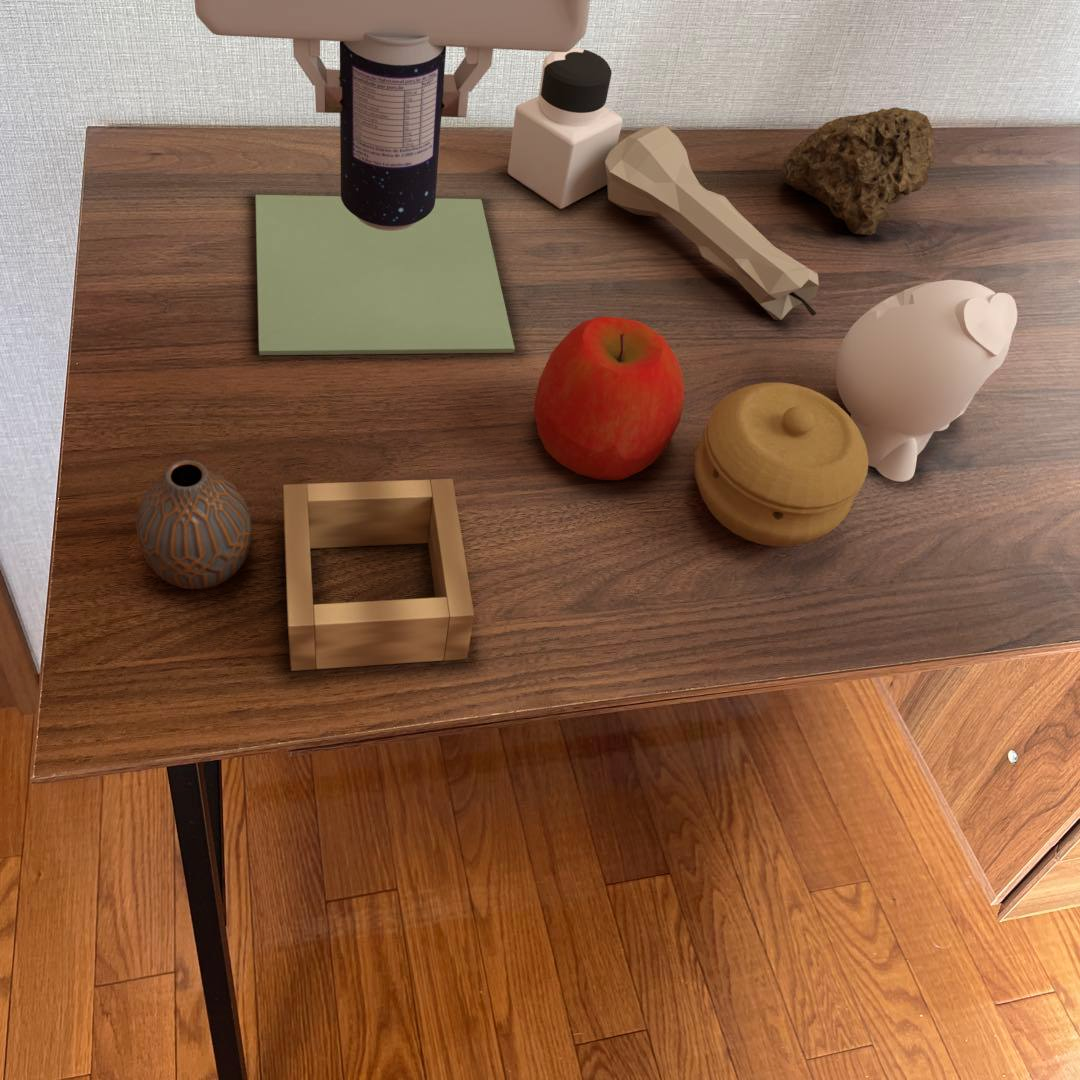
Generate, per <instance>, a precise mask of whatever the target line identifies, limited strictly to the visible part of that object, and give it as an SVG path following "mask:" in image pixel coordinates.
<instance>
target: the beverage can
mask: <svg viewBox="0 0 1080 1080" xmlns="http://www.w3.org/2000/svg"><path fill="white" fill-rule="evenodd" d="M428 40H429V37H428V36H425V37H423V38H419V39H417V38H397V37H376V36H373V35H370V34H367V33H365V34H364V40H363V41H360V42H346V41H339V70H340V81H341V84H342V91H343V98H342V100H341V101H342V105H343V113H339V126H340V127H339V132H340V133H339V135H340V136H339V137H340V138H339V140H340V141H339V143H340V145H339V146H340V147H339V148H340V151H339V152H340V157H339V158H340V196H341V199H342V202H343V204H344V206H345V207H346V208H347V209H348V210H349V211H350V212H351V213H352V214H353V215H355V216H356V217H357V218H358V219H359V220H360V221H361V222H363V223H364V224H366V225H368V226H370V227H373V228H376V229H380V230H387V231H395V230H402V229H406V228H409V227H411V226H413V225H415V224H416V223H417V222H418V221H420V220H422V219H423V218H425V217H426V216H427V215H429V214H430V212H431V211H432V210H433V208H434V206H435V198H437V183H438V169H439V168H438V167H439V156H440V155H439V154H440V152H439V151H440V140H441V139H440V137H441V128H442V127H441V126H442V124H441V123H442V117H441V108H442V93H443V84H444V74H445V69H446V68H445V67H446V54H447V46H433V45H430V44H429V43H428Z"/></svg>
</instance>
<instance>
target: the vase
mask: <svg viewBox="0 0 1080 1080" xmlns="http://www.w3.org/2000/svg"><path fill="white" fill-rule="evenodd" d="M250 513H251V512H250V510H249V507H248V504H247V503H246V501H245V499H244V497H243V495H242V494H241V492H240V491H239V489H237V487H236V486H235V485H234V484H233V483H232V481H230V480H229V479H228V478H226V477H225V476H223V475H221V474H220V473H218V472H216V471H213V470H211V469H208V468H207V467H206V466H205V465H203V464H202V463H201V462H198V461H196V460H193V459H183V460H178V461H176V462H174V463H172V464H171V465H169V467H168V468H167V469H166V471H165V473H164V474H163V475H162V476H161V477H159V478H157V479H156V480H155V481H154V482H153V483H152V484H151V485H150V486H149V487H148V489H147V490H146V492H145V493H144V495H143V496H142V499H141V501H140V504H139V507H138V510H137V516H136V521H135V522H136V524H135V525H136V527H135V529H136V530H135V531H136V539H137V542H138V545H139V548H140V551H141V553H142V556H143V558H144V560H145V561H146V562H147V564H148V566H149V567H150V568H151V570H152V571H153V572H154V573H155V574H156V575H157V576H158V577H160V578H161V579H163V580H164V581H165V582H167V583H169V584H170V585H172V586H175V587H179V588H183V589H188V590H203V589H209V588H213V587H215V586H218V585H220V584H222V583H224V582H226V581H227V580H228V579H230V578H232V577H233V576H234V575H235V574H236V573H237V572H238V571H239V570H240V568H241V567H242V566H243V564H244V562H245V560H246V559H247V556H248V554H249V551H250V547H251V543H252V532H253V531H252V530H253V527H252V519H251V518H252V517H251V514H250Z"/></svg>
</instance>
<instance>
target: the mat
mask: <svg viewBox="0 0 1080 1080" xmlns="http://www.w3.org/2000/svg"><path fill="white" fill-rule="evenodd" d="M254 197H255V198H254V199H255V201H254V202H255V243H256V245H255V247H256V285H257V286H256V287H257V289H256V291H257V294H256V295H257V333H258V335H257V336H258V339H257V340H258V341H257V342H258V356H316V355H317V356H322V355H323V356H324V355H325V356H328V355H329V356H330V355H333V356H334V355H337V356H338V355H417V354H418V355H424V354H425V355H427V354H428V355H429V354H431V355H432V354H436V355H437V354H442V355H443V354H509V353H510V354H514V353H515V351H516V348H515V343H514V339H513V335H512V331H511V325H510V322H509V317H508V313H507V308H506V305H505V304H506V303H505V299H504V295H503V291H502V285H501V281H500V277H499V273H498V268H497V264H496V258H495V253H494V249H493V245H492V241H491V237H490V236H491V235H490V233H489V228H488V223H487V217H486V215H485V210H484V206H483V201H482V198H446V197H445V198H443V197H441V198H440V197H439V198H438V197H436V198H435V206H434V208H433V210H432V211H431V212H430V214H429V215H427V216H426V217H425V218H423V219H422V220H420V221H418V222H417V223H416V224H415V225H413V226H411V227H409V228H406V229H402V230H395V231H387V230H380V229H376V228H373V227H370V226H368V225H366V224H364V223H363V222H361V221H360V220H359V219H358V218H357V217H356V216H355V215H353V214H352V213H351V212H350V211H349V210H348V209H347V208H346V207H345V206H344V204H343V202H342V199H341V195H299V194H297V195H295V194H294V195H293V194H292V195H289V194H255V196H254Z"/></svg>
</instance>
